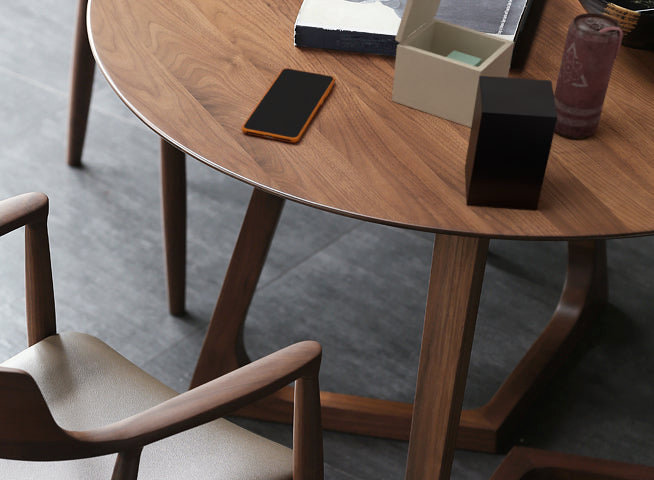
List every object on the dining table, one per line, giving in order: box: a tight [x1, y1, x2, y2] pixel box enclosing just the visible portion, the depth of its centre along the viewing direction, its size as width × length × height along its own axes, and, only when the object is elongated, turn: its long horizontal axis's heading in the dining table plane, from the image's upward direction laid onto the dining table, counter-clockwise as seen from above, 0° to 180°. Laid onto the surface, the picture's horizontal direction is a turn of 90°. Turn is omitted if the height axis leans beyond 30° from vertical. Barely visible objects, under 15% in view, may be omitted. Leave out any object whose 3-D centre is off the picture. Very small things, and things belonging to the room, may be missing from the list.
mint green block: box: [447, 51, 482, 67], centre depth 138 cm, size 4×4×5 cm
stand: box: [464, 76, 557, 211], centre depth 121 cm, size 8×8×12 cm
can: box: [553, 12, 624, 140], centre depth 131 cm, size 6×6×14 cm
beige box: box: [391, 17, 515, 129], centre depth 138 cm, size 12×10×8 cm
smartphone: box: [241, 67, 336, 143], centre depth 137 cm, size 8×17×1 cm, turn 161°
